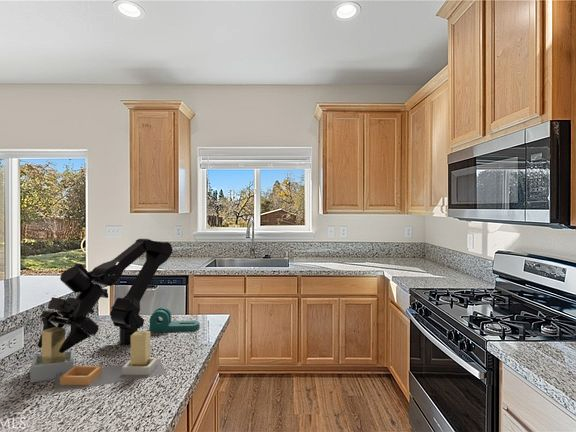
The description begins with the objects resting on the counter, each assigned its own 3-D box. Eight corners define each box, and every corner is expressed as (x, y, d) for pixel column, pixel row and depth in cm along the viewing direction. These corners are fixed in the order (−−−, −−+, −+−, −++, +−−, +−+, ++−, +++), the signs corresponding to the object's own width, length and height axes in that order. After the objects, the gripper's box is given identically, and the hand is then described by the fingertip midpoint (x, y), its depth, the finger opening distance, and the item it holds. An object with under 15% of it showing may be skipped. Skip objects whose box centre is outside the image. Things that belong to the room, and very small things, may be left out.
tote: (34, 369, 115) (34, 355, 115) (74, 363, 119) (74, 350, 119) (30, 382, 106) (30, 367, 106) (73, 376, 110) (73, 361, 110)
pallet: (56, 380, 108) (56, 367, 108) (159, 363, 120) (159, 352, 120) (53, 399, 97) (53, 384, 97) (166, 379, 109) (166, 366, 109)
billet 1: (55, 361, 115) (55, 326, 115) (64, 364, 113) (65, 328, 113) (41, 366, 112) (42, 330, 111) (51, 369, 110) (51, 332, 110)
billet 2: (135, 366, 113) (136, 331, 113) (150, 366, 114) (150, 331, 113) (130, 372, 109) (130, 335, 109) (145, 372, 110) (145, 335, 109)
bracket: (149, 332, 151) (149, 311, 151) (153, 327, 157) (153, 307, 157) (198, 331, 153) (199, 310, 153) (200, 326, 160) (200, 306, 160)
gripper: (46, 283, 120) (7, 329, 110) (89, 288, 112) (51, 339, 102) (70, 304, 127) (35, 349, 117) (113, 311, 119) (79, 360, 109)
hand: (49, 349), depth 111 cm, fingers open, 9 cm apart
